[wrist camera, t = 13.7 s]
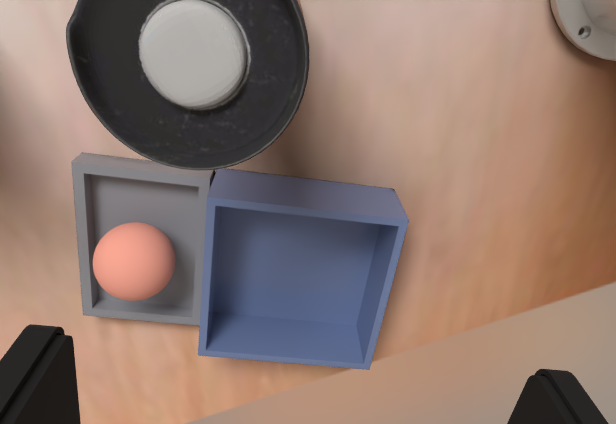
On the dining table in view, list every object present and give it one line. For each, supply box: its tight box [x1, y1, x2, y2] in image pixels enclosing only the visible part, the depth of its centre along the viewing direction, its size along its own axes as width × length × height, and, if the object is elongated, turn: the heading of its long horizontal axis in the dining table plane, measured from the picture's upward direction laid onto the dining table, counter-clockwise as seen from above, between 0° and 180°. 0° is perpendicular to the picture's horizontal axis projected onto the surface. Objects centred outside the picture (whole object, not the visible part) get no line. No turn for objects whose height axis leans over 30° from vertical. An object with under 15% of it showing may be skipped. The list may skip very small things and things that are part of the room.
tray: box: [72, 153, 214, 326], centre depth 39 cm, size 10×14×2 cm
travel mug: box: [66, 0, 309, 170], centre depth 24 cm, size 8×8×20 cm
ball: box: [93, 222, 176, 301], centre depth 37 cm, size 6×6×6 cm
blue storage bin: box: [198, 168, 409, 370], centre depth 39 cm, size 14×14×6 cm
